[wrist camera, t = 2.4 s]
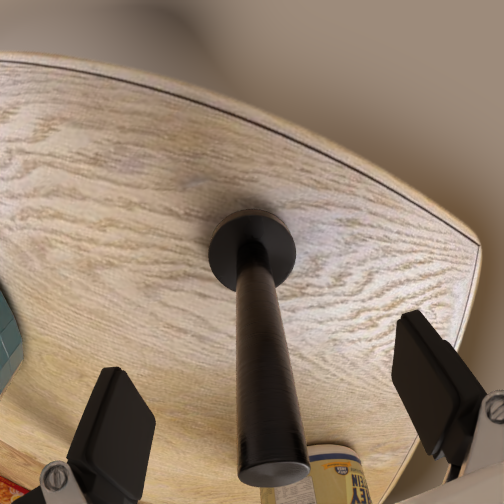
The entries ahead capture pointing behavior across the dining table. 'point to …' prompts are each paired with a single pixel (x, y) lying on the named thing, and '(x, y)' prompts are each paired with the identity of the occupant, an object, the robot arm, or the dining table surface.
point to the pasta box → (10, 491)
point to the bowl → (9, 346)
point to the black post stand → (261, 348)
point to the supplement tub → (325, 480)
